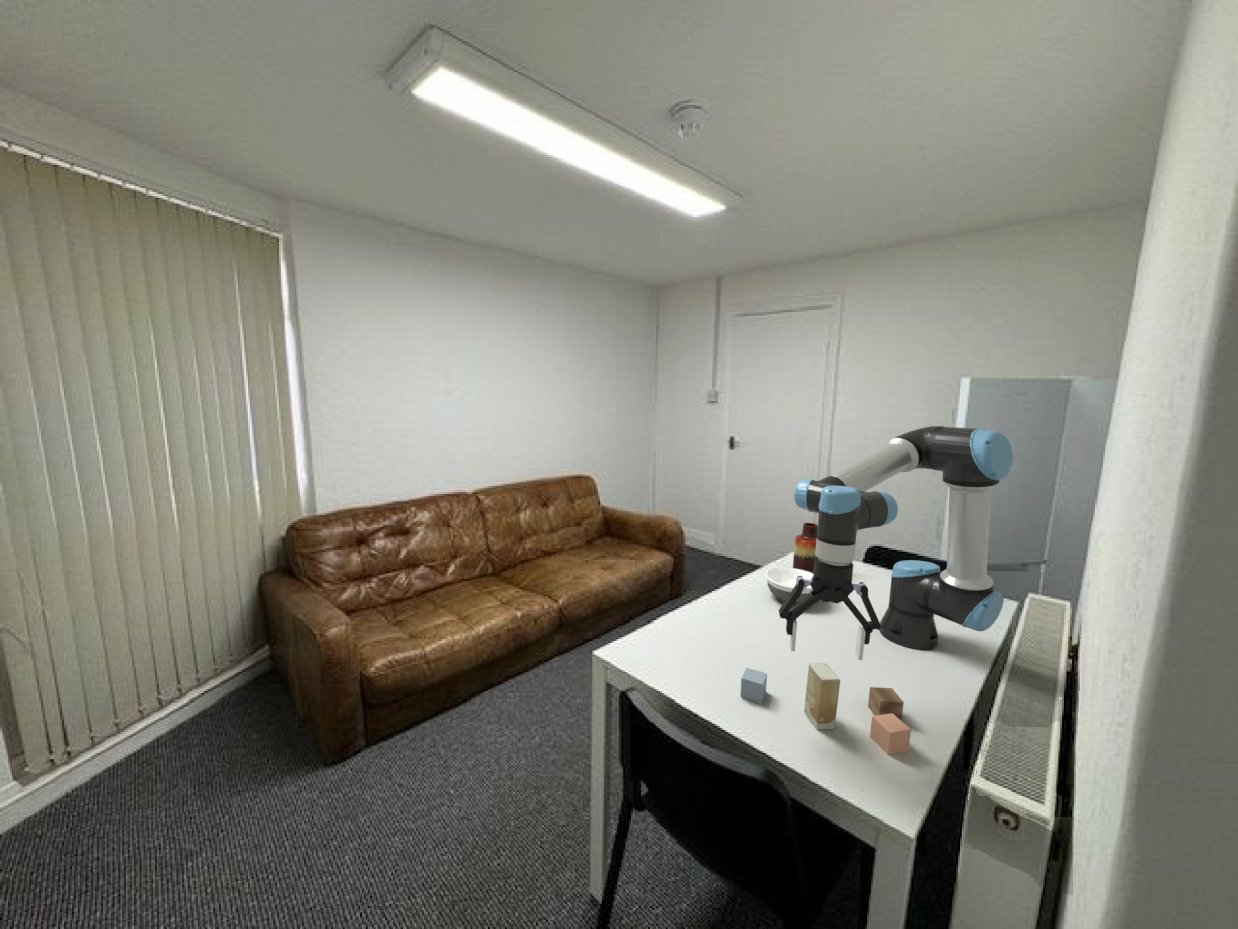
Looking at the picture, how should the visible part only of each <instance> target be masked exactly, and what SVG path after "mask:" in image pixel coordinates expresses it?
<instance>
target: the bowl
mask: <svg viewBox="0 0 1238 929" xmlns="http://www.w3.org/2000/svg"><path fill="white" fill-rule="evenodd" d="M798 576H802V577H803V578H804V579H809V580H811V579H812V577H813V573H810V572H807V571H804V570H800V569H795V568H793V567H775V568H770V569H769V570H768V571H766V573H765V577H766V581H767V587H768V589H769V591H770V593H771V594H773V595H774V596H775V597H776V598H778V599H779V600H780V601H781V602H783V603H784V601H785V600H786V598H787V597H788V596H789V594H790V593H791V591H792V590H793V588H794V587H795V585H796V581H797V577H798ZM812 590H813V589H812V587H811V586H808V587H807V588H806V589H803V591H802V593H801V595H800V596H799V598H798V599H797V601H796V602H795V604H794V605H793V606H796V605H797V604H798V603H800V602H801V601H802V600H803V599H804V598H805V597H807V596H808V595H809V593H810V592H811V591H812Z"/></svg>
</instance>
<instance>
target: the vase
mask: <svg viewBox="0 0 1238 929" xmlns="http://www.w3.org/2000/svg"><path fill="white" fill-rule="evenodd" d="M817 533H818V524H817V523H814V522H804V523H803V524H802V530H801V534H797V535H796V536H795V538H794V548H793V550H794V551H793V559H792V568H795V569H800V570H804V571H807V572H810V573H813V572H814V561H815V558H816V557H817V556H816V555H815V551H816V541H817Z"/></svg>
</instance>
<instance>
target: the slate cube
mask: <svg viewBox="0 0 1238 929" xmlns="http://www.w3.org/2000/svg"><path fill="white" fill-rule="evenodd" d="M767 679H768V673H767V672H764V671H761V670H757V669H753V668H751V667H750V668H749V667H746V668H745V669H744V671H743V674H742V676H741V679H740V697H741V698H742V699H746V700H749V701H753V702H755V703H759V704H761V705H762V703H763V701H764V698H765V695H766V693H767V683H768V682H767Z"/></svg>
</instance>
